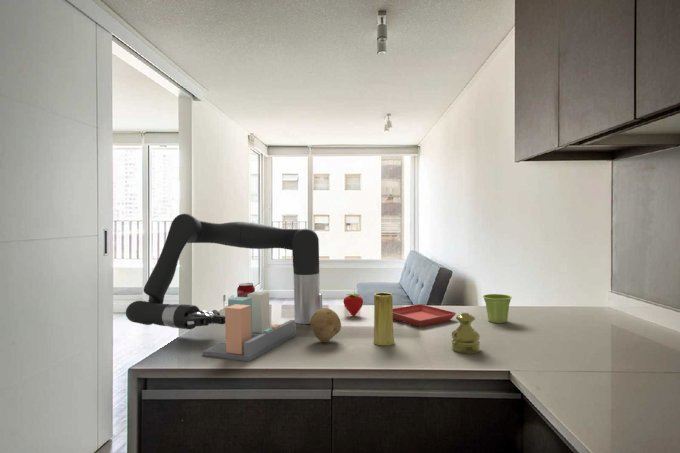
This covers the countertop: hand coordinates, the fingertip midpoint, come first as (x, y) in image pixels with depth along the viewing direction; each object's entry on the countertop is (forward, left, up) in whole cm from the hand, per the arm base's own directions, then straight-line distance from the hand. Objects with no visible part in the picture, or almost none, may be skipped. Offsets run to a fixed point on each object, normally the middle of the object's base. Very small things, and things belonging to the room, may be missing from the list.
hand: (225, 320), depth 122 cm
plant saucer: (-65, +15, -7) cm, 68 cm away
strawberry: (-49, -4, -7) cm, 50 cm away
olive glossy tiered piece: (-51, +47, -7) cm, 70 cm away
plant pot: (-84, +33, -7) cm, 91 cm away
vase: (-37, +29, -7) cm, 48 cm away
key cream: (-11, -1, -5) cm, 12 cm away
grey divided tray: (-5, +8, -7) cm, 12 cm away
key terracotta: (+1, +15, -5) cm, 16 cm away
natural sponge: (-24, +18, -7) cm, 31 cm away
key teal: (-3, +4, -5) cm, 7 cm away
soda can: (-17, -31, -7) cm, 36 cm away
